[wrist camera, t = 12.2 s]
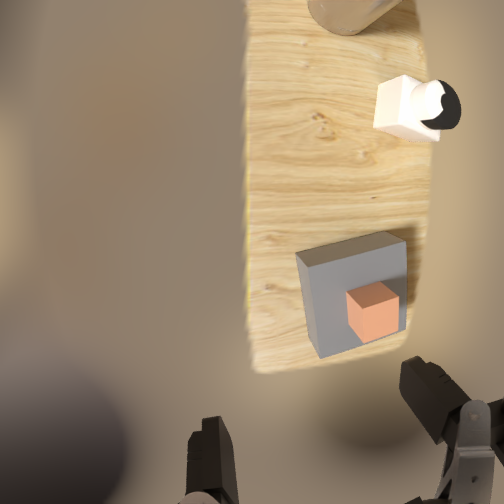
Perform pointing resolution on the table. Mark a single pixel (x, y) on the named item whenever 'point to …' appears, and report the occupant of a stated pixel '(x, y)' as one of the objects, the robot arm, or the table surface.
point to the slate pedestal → (348, 285)
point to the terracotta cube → (372, 311)
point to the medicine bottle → (416, 108)
